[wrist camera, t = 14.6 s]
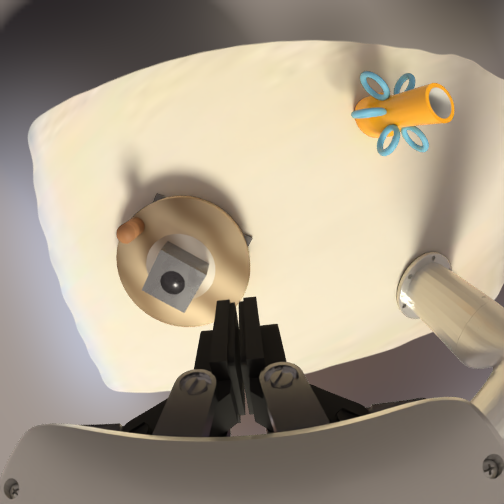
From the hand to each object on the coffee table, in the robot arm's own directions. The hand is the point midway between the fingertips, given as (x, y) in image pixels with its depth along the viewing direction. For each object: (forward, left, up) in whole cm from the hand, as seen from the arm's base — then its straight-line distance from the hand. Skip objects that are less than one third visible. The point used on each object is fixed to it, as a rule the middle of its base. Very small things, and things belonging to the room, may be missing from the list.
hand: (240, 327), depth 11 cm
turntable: (+4, +9, -25) cm, 27 cm away
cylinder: (-10, -21, -25) cm, 34 cm away
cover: (+4, +9, -22) cm, 24 cm away
